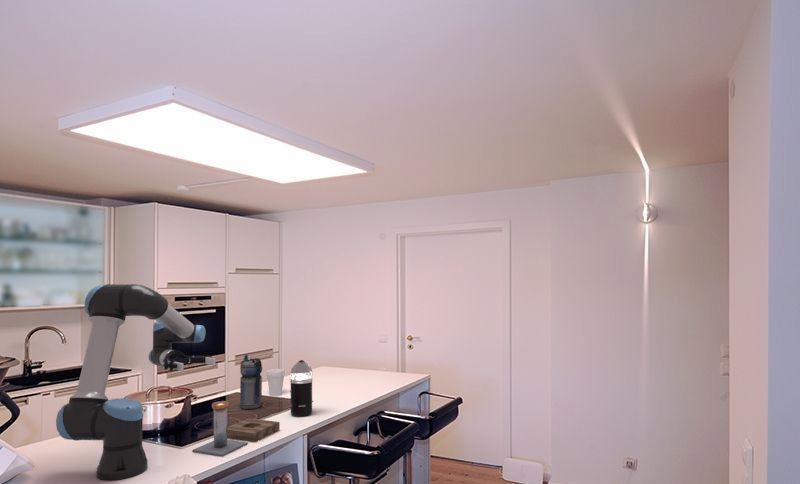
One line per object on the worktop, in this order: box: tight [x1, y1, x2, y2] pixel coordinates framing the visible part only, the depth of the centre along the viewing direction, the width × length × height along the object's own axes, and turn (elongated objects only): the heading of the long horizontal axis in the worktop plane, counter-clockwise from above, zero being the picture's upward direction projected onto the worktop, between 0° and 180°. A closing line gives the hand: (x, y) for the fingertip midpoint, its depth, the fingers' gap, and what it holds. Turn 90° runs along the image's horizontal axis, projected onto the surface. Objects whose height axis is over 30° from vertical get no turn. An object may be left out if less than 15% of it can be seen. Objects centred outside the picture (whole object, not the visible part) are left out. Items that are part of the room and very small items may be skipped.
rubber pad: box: [192, 438, 249, 458], centre depth 195 cm, size 14×14×1 cm
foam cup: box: [266, 368, 285, 397], centre depth 279 cm, size 10×9×13 cm
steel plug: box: [211, 400, 230, 448], centre depth 195 cm, size 6×6×16 cm
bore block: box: [227, 417, 281, 443], centre depth 211 cm, size 16×16×4 cm
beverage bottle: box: [239, 354, 263, 410], centre depth 254 cm, size 10×13×25 cm
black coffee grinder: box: [289, 359, 313, 418], centre depth 240 cm, size 10×10×25 cm
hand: (199, 364), depth 205 cm, fingers open, 13 cm apart
